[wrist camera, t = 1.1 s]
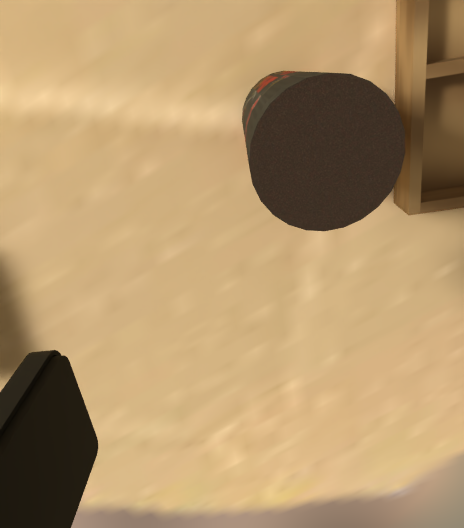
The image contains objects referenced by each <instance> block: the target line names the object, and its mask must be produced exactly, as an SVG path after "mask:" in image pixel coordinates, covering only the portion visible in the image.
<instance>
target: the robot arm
mask: <svg viewBox="0 0 464 528" xmlns="http://www.w3.org/2000/svg"><path fill="white" fill-rule="evenodd" d="M97 451H98V440H97V436H96V434H95V431H94V428H93V425H92V422H91V420H90V417H89V414H88V411H87V409H86V406H85V403H84V400H83V398H82V395H81V392H80V389H79V387H78V384H77V381H76V378H75V376H74V373H73V370H72V367H71V365H70V362H69V360H68V358H67V357H66V356H61V354H60V353H59V352H58V351H56V350H51V351H41V352H32V353H29V354H28V355H27V356H26V358H25V359H24V360H23V362H22V363H21V365H20V366H19V367H18V369H17V370H16V371H15V373H14V374H13V376H12V377H11V378H10V380H9V381H8V382H7V384H6V385H5V387H4V388H3V389H2V391H1V392H0V528H71V525H72V523H73V520H74V517H75V515H76V512H77V509H78V506H79V503H80V501H81V498H82V495H83V492H84V489H85V487H86V484H87V481H88V478H89V475H90V473H91V470H92V467H93V464H94V461H95V459H96V456H97Z"/></svg>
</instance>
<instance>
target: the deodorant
mask: <svg viewBox="0 0 464 528" xmlns="http://www.w3.org/2000/svg"><path fill="white" fill-rule="evenodd" d="M242 122H243V129H244V135H245V142H246V148H247V155H248V161H249V167H250V172H251V178H252V183H253V186H254V188H255V190H256V192H257V194H258V196H259V198H260V200H261V202H262V203H263V204H264V205H265V206H266V207H267V208H268V209H269V210H270V212H271V213H272V214H273V215H274V216H276V217H278V218H279V219H281V220H282V221H284V222H285V223H287V224H288V225H291V226H295V227H298V228H301V229H304V230H313V231H328V230H333V229H338V228H343V227H346V226H348V225H350V224H352V223H355V222H357V221H359V220H361V219H363V218H364V217H365V216H367V215H368V214H369V213H371V212H372V211H373V210H375V209H376V208H377V207H378V206H379V205H380V204H381V203H382V202H383V200H384V199H385V198H386V197H387V196H388V194H389V193H390V192H391V191H392V189H393V187H394V185H395V183H396V181H397V179H398V177H399V175H400V173H401V169H402V165H403V160H404V156H405V130H404V127H403V124H402V121H401V117H400V114H399V111H398V110H397V108H396V107H395V105H394V104H393V102H392V101H391V100H390V98H389V97H388V95H387V94H386V93H385V92H383V91H382V90H381V89H379V88H378V87H377V86H376V85H374V84H373V83H372V82H371V81H368V80H365V79H363V78H360V77H357V76H354V75H352V74H342V73H321V72H295V71H281V72H276V73H272V74H270V75H268V76H266V77H264V78H263V79H261V80H260V81H259V82H258V83H257V84H256V85H255V86H254V87H253V88H252V89H251V91H250V93H249V94H248V96H247V98H246V101H245V104H244V107H243V116H242Z"/></svg>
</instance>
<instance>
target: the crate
mask: <svg viewBox="0 0 464 528" xmlns="http://www.w3.org/2000/svg"><path fill="white" fill-rule="evenodd" d="M395 107H396V108H397V110H398V111H399V114H400V117H401V121H402V124H403V127H404V130H405V156H404V160H403V165H402V169H401V173H400V175H399V177H398V179H397V181H396V183H395V185H394V203H395V204H396V205H397V206H398V207H399V208H401V209H402V210H403V211H404V212H405V213H407V214H408V215H414V214H421V213H428V212H435V211H442V210H449V209H456V208H463V207H464V0H396V75H395Z"/></svg>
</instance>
